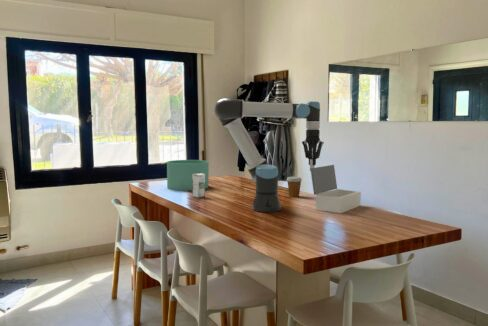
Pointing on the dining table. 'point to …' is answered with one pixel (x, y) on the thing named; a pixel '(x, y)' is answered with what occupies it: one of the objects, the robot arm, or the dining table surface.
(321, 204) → the box
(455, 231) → the dining table surface
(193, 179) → the syrup box
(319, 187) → the cover
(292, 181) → the disposable coffee cup
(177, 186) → the container
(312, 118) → the robot arm
